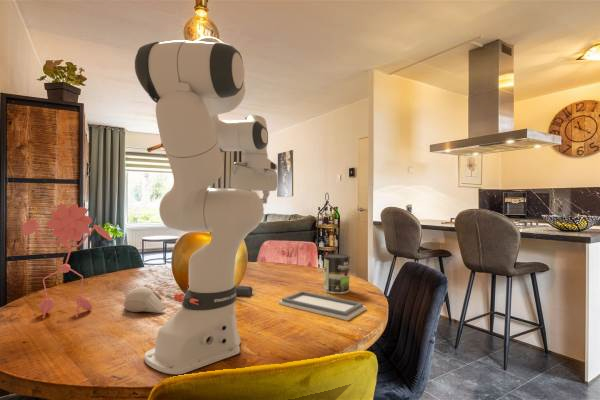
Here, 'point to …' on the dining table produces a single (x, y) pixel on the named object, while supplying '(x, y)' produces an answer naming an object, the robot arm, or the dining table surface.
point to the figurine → (66, 227)
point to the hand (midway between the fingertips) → (254, 203)
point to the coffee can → (336, 273)
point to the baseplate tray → (324, 305)
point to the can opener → (243, 290)
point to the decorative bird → (143, 300)
